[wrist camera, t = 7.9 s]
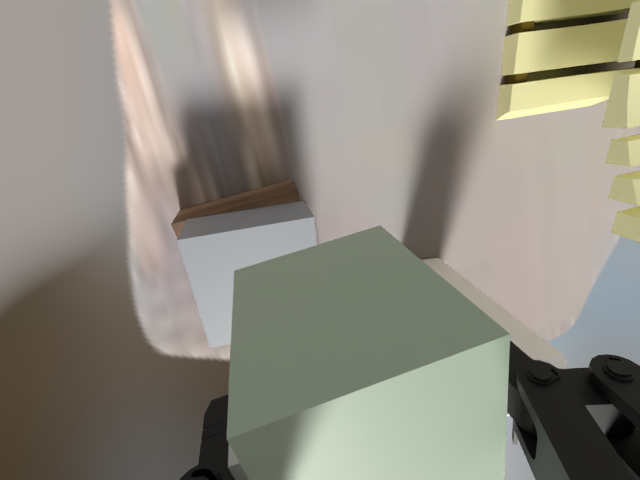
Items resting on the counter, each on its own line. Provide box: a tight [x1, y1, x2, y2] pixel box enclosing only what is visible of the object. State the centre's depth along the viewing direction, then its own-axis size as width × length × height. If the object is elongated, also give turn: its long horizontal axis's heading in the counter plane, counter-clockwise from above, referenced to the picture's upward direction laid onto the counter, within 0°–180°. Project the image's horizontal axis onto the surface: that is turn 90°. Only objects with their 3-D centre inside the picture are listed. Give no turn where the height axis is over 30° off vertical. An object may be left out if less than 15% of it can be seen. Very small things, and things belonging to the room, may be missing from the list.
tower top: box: [177, 201, 317, 348], centre depth 30 cm, size 11×11×5 cm
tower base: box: [171, 180, 300, 238], centre depth 35 cm, size 12×12×5 cm
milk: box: [422, 258, 568, 416], centre depth 34 cm, size 6×6×22 cm
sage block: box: [227, 226, 510, 480], centre depth 12 cm, size 7×7×8 cm
